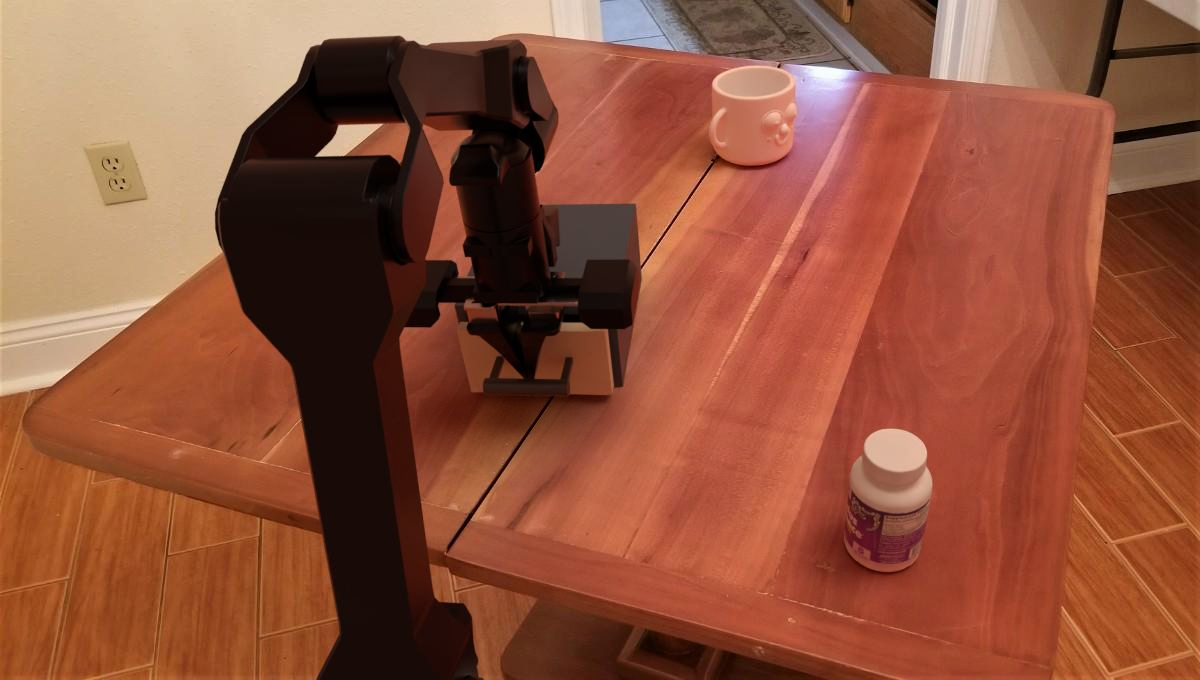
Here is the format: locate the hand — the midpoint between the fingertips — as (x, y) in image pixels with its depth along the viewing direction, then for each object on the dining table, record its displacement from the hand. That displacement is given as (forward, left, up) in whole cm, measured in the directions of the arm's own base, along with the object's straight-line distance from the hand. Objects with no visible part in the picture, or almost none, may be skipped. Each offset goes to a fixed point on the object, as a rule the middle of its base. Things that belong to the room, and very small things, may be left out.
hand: (530, 376), depth 78 cm
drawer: (+4, +6, -4) cm, 8 cm away
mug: (+41, +30, -5) cm, 51 cm away
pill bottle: (+16, -25, -5) cm, 30 cm away
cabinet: (+7, +10, -5) cm, 13 cm away
